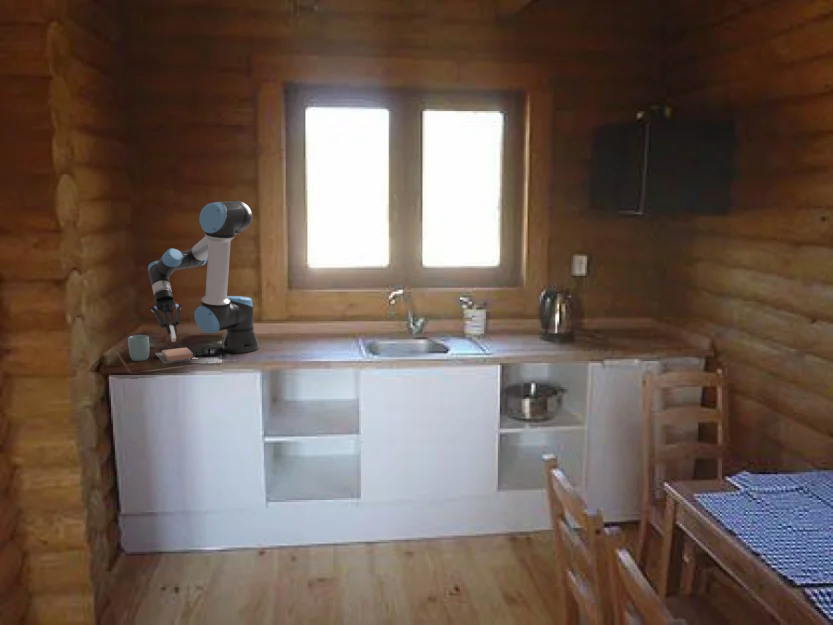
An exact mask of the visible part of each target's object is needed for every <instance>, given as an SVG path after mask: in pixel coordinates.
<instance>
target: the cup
mask: <svg viewBox="0 0 833 625" xmlns="http://www.w3.org/2000/svg"><path fill="white" fill-rule="evenodd" d="M149 338H150V337H149V336H148V334H147V335H146V334H135V335H131V336H128V337H127V342H128V343H127V344H128V353H129V356H130V359H131V360H132V361H133V362H140V361H146V360H148V359H149V357H150V339H149Z"/></svg>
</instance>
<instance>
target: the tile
mask: <svg viewBox="0 0 833 625" xmlns="http://www.w3.org/2000/svg"><path fill="white" fill-rule="evenodd" d="M161 353H162V355H163V356H164V357H165V359H166V360H167V361H177V360H185V359H192V358H193V354H194V353H193V351H192V350H190V349H189V348H188V347H179V348H170V349H163V350H161Z"/></svg>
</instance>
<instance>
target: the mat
mask: <svg viewBox="0 0 833 625" xmlns="http://www.w3.org/2000/svg"><path fill="white" fill-rule="evenodd" d="M154 354H155V355H156V357H157V358H158V359H159V360H160V361H161V363H163V364H164V365H165V364H170V363H171V364H172V363H178V362H179V363H180V362H188V361H190V360H189V359H185V360H177V361H167V360H166V359H165V357H164V356H163V355H162V352H155V353H154Z"/></svg>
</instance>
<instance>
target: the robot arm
mask: <svg viewBox="0 0 833 625" xmlns="http://www.w3.org/2000/svg"><path fill="white" fill-rule="evenodd" d="M198 219H199V225H201V226H200V227H201V229H202V231H203V232H204V237H203V238H202V239H200V240H199V241H198V242H197V243H196V244H195V245H193V246H192V247H191V248H189V249H188V250H183V251H180V250H179V249H176V248H169V249H167V250H166V251H165V252H164V253H163V255H162V256H161V257H160V258H159V259H158V260H155V261H152V262H150V263H149V265H148V267H147V268H148V269H147V270H148V277H149V281H150V284H151V288H152V293H153V297H154V302H155V305H154V306H151V308H150V312H151V313H152V314H153V315H154V316H155V319H156V320H157V322H158V324H159V326H160V327H161V328H162V329H164V328H165V330H166V334H167V335H169V336H170V339H171V342H172V343H174V342H176V341H177V336H176V334H178V333H177V332H178V329H177V328H178V327H179V326H180V323H181V310H182V308H183V307H182V304H181V303H180V304H178V303H177V302H176V301H175V299H174V295H173V291H172V286H171V282H170V276H171V275H172V274H174V272H175V271H177V270H184V269H191V268H199V267H201V266H202V267H203V266H205V265H206V267H207V268H206V282H205V284H206V285H205V295H204V296H203V297H202V298H201V300H200V306H198V307H197V308H196V309H195V310H194V320H195V323H196V325H197V326H198V328H199V330H201V331H202V332H204V333H206V334H212V333H213V334H214V333H215V334H216V333H218V332H221V331H225V336H224V339H223V343H222V349H223V351H225V352H226V353H230V354H232V353H233V354H243V353H250V352H254V351H256V350H258V349H259V348H260V347H259V341H258V339H257V336H256V333H255V329H254V327H255V326H254V324H255V322H254V305H253V299H252V298H251V297H249V296H239V295H228V285H229V274H230V273H229V271H230V270H229V269H230V255H231V242H232V241H233V239H235V237H236V235H240V234H242V233H244V231H246V230H247V229H248V228H249V227H250V226H251V224H252V222H253V213H252V209H251V208H250V207H249V205H247V204H246V203H245V202H244V201H240V200H231V201H215V202H211V203H207V204H206V205H205V206H203V207H202V208H201V211H200V213H199V218H198ZM174 309H175V310H176V319H175V315H174ZM159 312H160V313H161V315H162V316H161V315H160V313H159ZM168 316H169V317H168ZM162 317H163V318H162ZM169 320H170V322H169Z"/></svg>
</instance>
